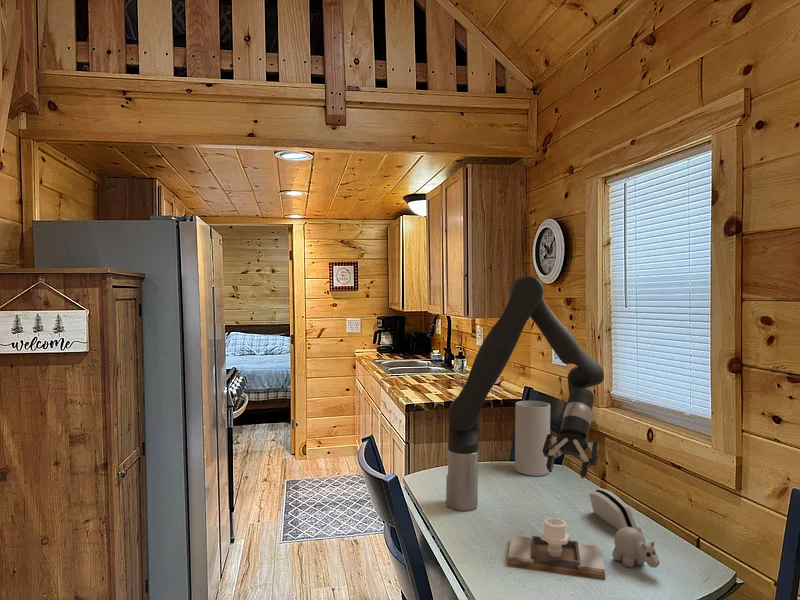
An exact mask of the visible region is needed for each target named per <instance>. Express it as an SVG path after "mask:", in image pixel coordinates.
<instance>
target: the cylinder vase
mask: <svg viewBox="0 0 800 600" xmlns="http://www.w3.org/2000/svg"><path fill="white" fill-rule="evenodd" d="M514 416H515V425H514V426H515V428H514V430H515V434H514V439H515V440H514V442H515V443H514V451H515V452H514V469H515V471H516V472H517V473H519V474H521V475H524V476H529V477H531V476H532V477H543V476H547V475H548V474H549V473H550V472H549V471H548V469H547V467H546V464H547V460H548V457H545V456H544V454H543V451H542V450H543V447H544V444H545V440H546V437H547V435H548V434H551V404H550V403H548V402H545V401H538V400H520V401H517V402H515V414H514ZM550 451H551V450H550ZM550 451H549V452H550Z"/></svg>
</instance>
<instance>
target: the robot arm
mask: <svg viewBox="0 0 800 600" xmlns="http://www.w3.org/2000/svg"><path fill="white" fill-rule="evenodd" d="M544 291H545V290H544V286H543V283H542V281H541V280H540V279H538V278H537V277H535V276H531V275H521V276H518V277H516V278H515V279H514V280H512V282H511V284H510V287H509V294H510V297H509V300H508V301H507V304H506V306H505V309H504V311H503V313H502V314H501V316H500V317H499V319H498V320H497V321H496V322H495V324H494V325H493V326H492V328H491V329H490V331H488V333H487V335H486V336H485V339H483V342H482V343H481V345H480V347H479V348H478V350H477V353H476V356H475V358H474V359H473V363H472V365H471V368H470V371H469V375H468V378H467V380H466V382H465V384H464V386H463V387H462V389H461V391H460V393H459V394H458V395H457V397H455V399H453V401H452V402H451V403H450V405H449V408H448V411H447V418H448V438H447V439H448V442H447V445H448V446H447V450H448V451H447V455H448V456H447V475H446V478H445V479H446V483H445V485H446V486H445V487H446V490H445V492H446V495H445V496H446V497H445V498H446V499H445V500H446V501H445V507H446V508H449V509H453V510H456V511H461V512H462V511H463V512H465V511H467V512H469V511H473V510H476V509H477V508H478V502H479V501H478V500H479V499H478V497H479V496H478V495H479V493H478V492H479V491H478V489H479V488H478V487H479V427H480V426H479V424H480V423H479V419H480V417H479V416H480V413H481V412H482V408H483V406H484V404H485V402H486V399H487V396H488V395H489V393H490V392H491V390H492V388H493V387H494V385H495V384H496V382H497V381H498V379H499V378H500V376H501V374H502V372H503V371H504V369H505V367H506V366H507V364H508V362H509V360H510V359H511V356H512V354H513V352H514V350H515V348H516V345H517V343H518V342H519V339H520V337H521V334H522V333H523V330H524V328H525V325H526V323H528V320H529V319H532V321H533V322H534V324H535V325H536V326H537V328H538V329H539V330H540V332H541V333H542V335H543V337H544V338H545V340H546V341H547V343H548V344H549V346H550V347H551V349H552V350H553V352H554V353H555V354H556V356H557V357H558V359H559V360H560V361H561V362H562V364H565V365H574V366H575V367H574V366H573V367H572V368H571V369H570V370H569V371H568V374H567V386H568V395H569V396H568V399H567V402H566V403H567V404H566V407H565V409H564V413H563V416H562V421H561V425H560V430H559V434H558V436H552V435H551V433H550V434H548V435H547V437H546V440H545V444H544V447H543V450H542V451H543V454H544V456H545V457H548V460H547V464H546V467H547V469H548V471H549V473H552V472H553V469H554V465H555V459H556V458H558V457H560V456H561V455H563V454H564V455H565V456H566V455H567V456H572V457H577V456H579V459H580V460H581V461H582V463H581V469H580V475H579V476H580V478H581V479H585V477H586V478H587V477H588V473H589V467H590V466H595V467H596V466H597V465H598V459H599V444H598V441H596V440H594V441H593V442H590V441H588V439H589V433H590V427H591V425H592V411H593V407H594V402H595V400H594V399H595V396H594V393H593V391H592V390H590V389H588V388H591V387H595V386H597V385H600V384H602V383H603V381H604V379H605V373H604V369H603V367H602V366H601V364H599V362H598V361H597V360H595V358H593V357H592V356H591V355H590V354H589V353H587V352H586V351H585V350H584V349H582V347H580V344H579V343H578V341H576V339H575V337H574V336H573V335H572V334H571V332H570V331H569V330H568V329H567V327H566V326H565V325H564V324H563V323H562V321H560V319H559V318H558V317H557V316H556V315H555V313H554V312H553V311H552V309H551V308H550V307H549V305H548V304H547V302H546V300H545V298H544ZM555 443H557V444H556V445H555V446H554V447H553V448H552V449H551V447H552V445H554V444H555ZM588 448H589V450H590V451H591V456H590V458H588V456H587V454H586V453H585V450H587V449H588ZM549 451H550V452H549Z"/></svg>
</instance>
